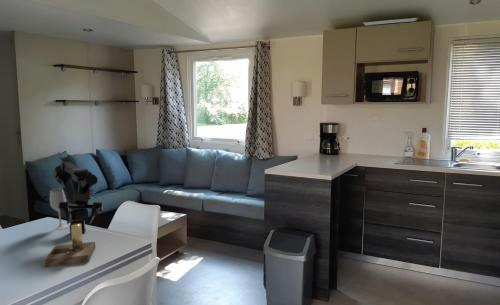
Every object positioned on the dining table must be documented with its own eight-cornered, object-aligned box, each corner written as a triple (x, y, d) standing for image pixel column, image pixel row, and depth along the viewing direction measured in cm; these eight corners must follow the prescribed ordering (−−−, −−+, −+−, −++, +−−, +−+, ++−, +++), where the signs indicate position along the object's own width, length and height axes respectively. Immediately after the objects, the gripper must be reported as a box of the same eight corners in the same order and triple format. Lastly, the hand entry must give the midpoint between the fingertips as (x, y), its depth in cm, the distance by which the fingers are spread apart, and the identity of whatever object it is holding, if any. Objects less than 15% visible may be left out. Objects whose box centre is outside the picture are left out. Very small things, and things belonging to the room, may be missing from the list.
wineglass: (50, 229, 196) (45, 191, 193) (62, 224, 202) (58, 187, 199) (59, 231, 192) (54, 192, 189) (72, 226, 199) (67, 188, 196)
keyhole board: (45, 266, 148) (44, 259, 148) (56, 251, 164) (55, 245, 163) (88, 262, 152) (88, 255, 152) (95, 248, 167) (95, 241, 167)
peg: (82, 253, 161) (80, 222, 160) (84, 256, 158) (82, 225, 156) (72, 255, 159) (69, 224, 157) (73, 258, 155) (71, 227, 154)
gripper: (59, 185, 168) (52, 217, 160) (102, 186, 172) (98, 217, 164) (63, 195, 177) (58, 226, 169) (104, 196, 181) (101, 226, 173)
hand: (78, 224), depth 169 cm, fingers open, 9 cm apart
